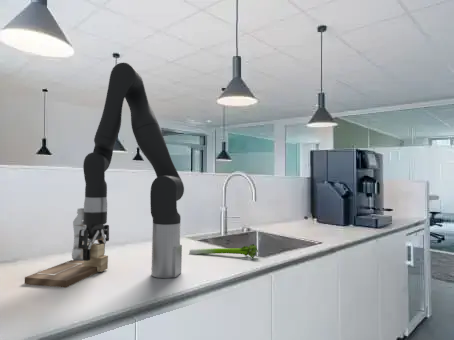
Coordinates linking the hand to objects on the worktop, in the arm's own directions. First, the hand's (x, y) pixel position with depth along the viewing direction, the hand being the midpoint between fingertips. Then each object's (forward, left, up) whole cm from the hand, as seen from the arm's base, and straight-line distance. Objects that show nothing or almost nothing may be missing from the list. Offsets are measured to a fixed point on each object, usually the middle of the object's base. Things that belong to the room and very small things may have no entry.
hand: (94, 257), depth 110 cm
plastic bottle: (+13, -11, -5) cm, 17 cm away
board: (+5, +6, -5) cm, 9 cm away
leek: (-39, -33, -5) cm, 51 cm away
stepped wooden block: (0, 0, -4) cm, 4 cm away
